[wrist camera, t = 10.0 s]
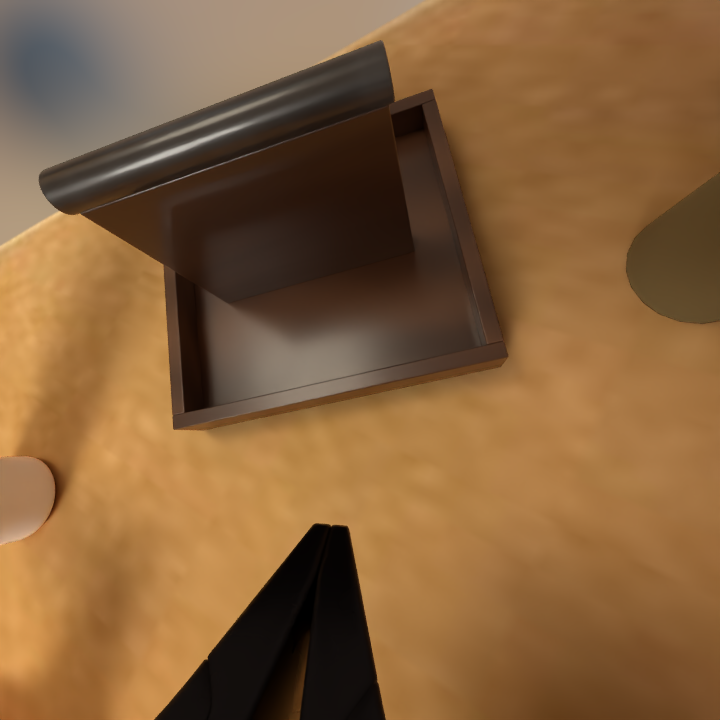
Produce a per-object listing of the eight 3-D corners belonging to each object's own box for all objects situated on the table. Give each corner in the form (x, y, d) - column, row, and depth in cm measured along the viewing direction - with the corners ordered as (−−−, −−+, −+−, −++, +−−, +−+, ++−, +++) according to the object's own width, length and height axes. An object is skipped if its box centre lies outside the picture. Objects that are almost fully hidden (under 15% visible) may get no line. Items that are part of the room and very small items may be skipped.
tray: (501, 366, 20) (574, 271, 8) (202, 430, 23) (-42, 423, 12) (433, 124, 24) (420, -172, 12) (184, 207, 27) (-13, 35, 15)
